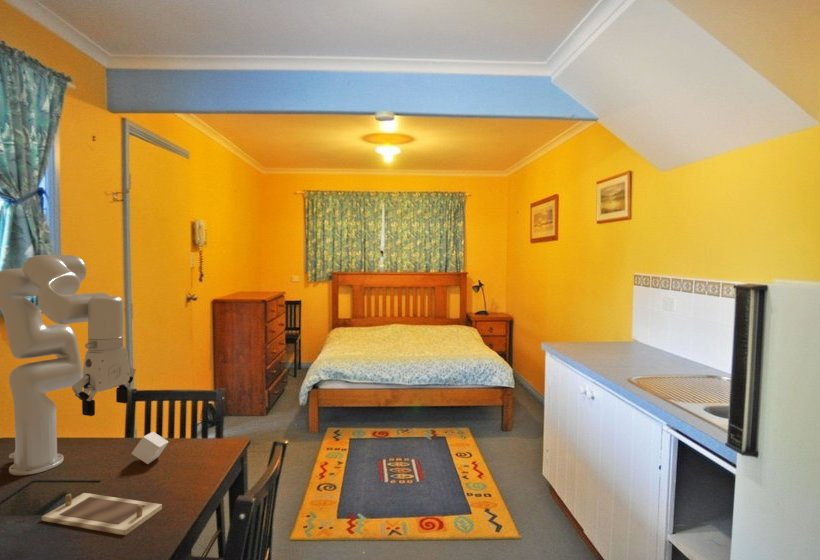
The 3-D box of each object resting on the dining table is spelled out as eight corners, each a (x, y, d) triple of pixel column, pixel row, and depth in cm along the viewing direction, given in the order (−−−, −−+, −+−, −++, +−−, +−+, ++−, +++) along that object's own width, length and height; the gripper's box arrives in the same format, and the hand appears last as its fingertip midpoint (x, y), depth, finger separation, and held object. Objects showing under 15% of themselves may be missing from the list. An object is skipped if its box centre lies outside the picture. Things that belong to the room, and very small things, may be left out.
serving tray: (41, 521, 106) (41, 506, 106) (84, 497, 117) (83, 483, 116) (125, 535, 101) (125, 519, 101) (162, 508, 112) (161, 494, 111)
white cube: (141, 447, 140) (153, 431, 140) (157, 458, 140) (168, 441, 141) (131, 453, 134) (143, 436, 134) (147, 464, 134) (159, 447, 135)
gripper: (86, 352, 104) (86, 422, 105) (145, 339, 121) (145, 399, 122) (61, 349, 106) (61, 418, 107) (122, 336, 123) (122, 396, 124)
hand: (106, 408), depth 114 cm, fingers open, 9 cm apart
